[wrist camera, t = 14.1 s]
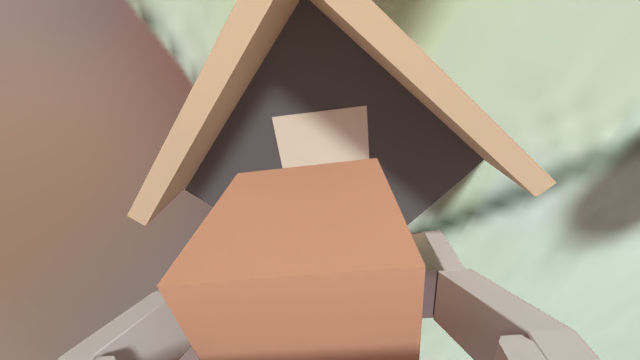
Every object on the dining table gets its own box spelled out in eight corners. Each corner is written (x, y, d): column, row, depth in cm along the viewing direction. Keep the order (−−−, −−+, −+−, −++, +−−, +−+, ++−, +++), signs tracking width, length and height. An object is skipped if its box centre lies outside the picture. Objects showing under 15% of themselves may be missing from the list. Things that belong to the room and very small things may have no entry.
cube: (377, 158, 9) (425, 266, 5) (380, 264, 11) (415, 407, 7) (237, 173, 9) (156, 286, 5) (268, 273, 12) (231, 413, 7)
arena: (494, 145, 16) (556, 182, 12) (340, 278, 22) (343, 337, 17) (299, -40, 12) (282, -89, 8) (174, 179, 18) (123, 222, 14)
